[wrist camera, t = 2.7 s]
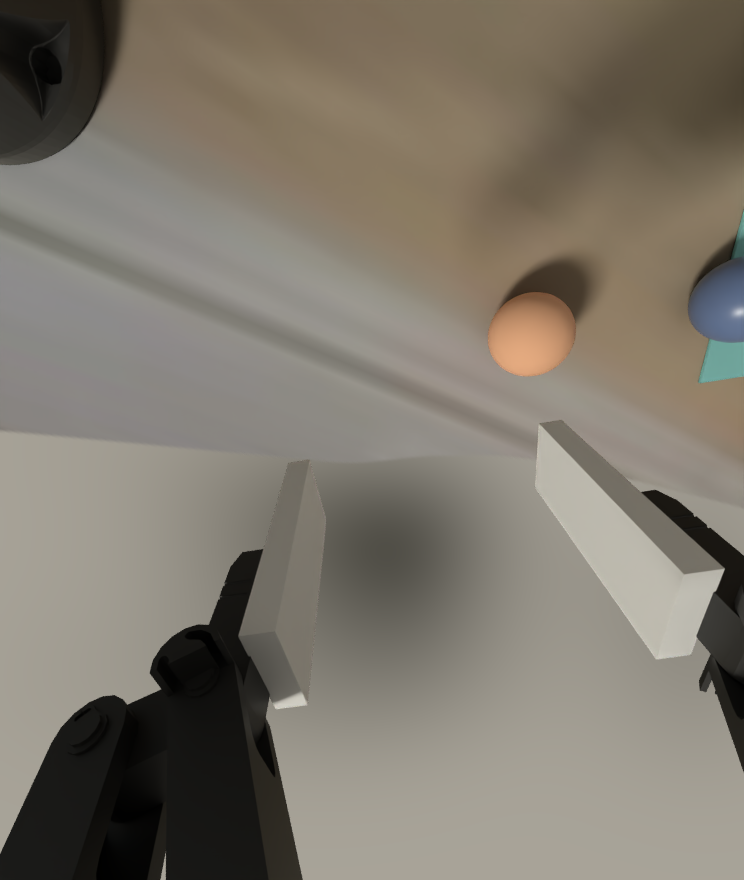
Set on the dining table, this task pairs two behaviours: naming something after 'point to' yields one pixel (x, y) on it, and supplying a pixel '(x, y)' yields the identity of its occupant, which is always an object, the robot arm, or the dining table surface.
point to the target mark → (721, 355)
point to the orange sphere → (531, 334)
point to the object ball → (720, 303)
